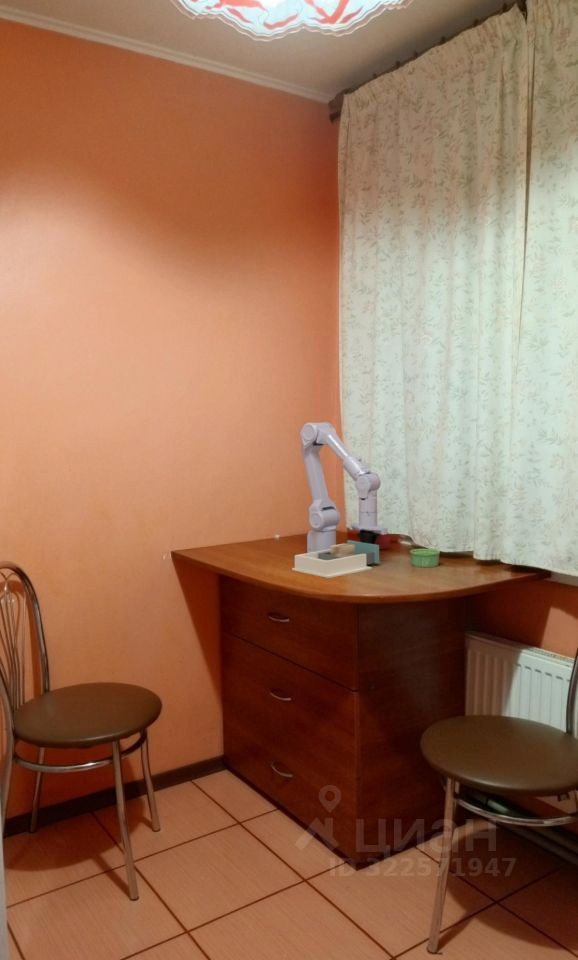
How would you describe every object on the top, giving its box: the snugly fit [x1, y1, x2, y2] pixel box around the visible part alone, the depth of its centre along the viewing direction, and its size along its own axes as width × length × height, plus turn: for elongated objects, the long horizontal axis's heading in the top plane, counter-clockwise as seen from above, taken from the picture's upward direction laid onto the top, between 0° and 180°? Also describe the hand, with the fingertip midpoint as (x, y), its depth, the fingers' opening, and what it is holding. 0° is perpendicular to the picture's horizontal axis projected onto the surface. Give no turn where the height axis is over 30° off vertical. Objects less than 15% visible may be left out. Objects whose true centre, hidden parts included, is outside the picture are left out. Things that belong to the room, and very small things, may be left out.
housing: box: [291, 549, 373, 579], centre depth 225 cm, size 18×16×5 cm
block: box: [330, 543, 355, 557], centre depth 228 cm, size 4×6×5 cm
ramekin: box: [409, 548, 441, 568], centre depth 230 cm, size 9×9×4 cm
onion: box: [375, 532, 391, 550], centre depth 257 cm, size 6×6×8 cm
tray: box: [318, 539, 380, 565], centre depth 229 cm, size 14×13×6 cm
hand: (368, 554), depth 235 cm, fingers closed, pressing on tray
